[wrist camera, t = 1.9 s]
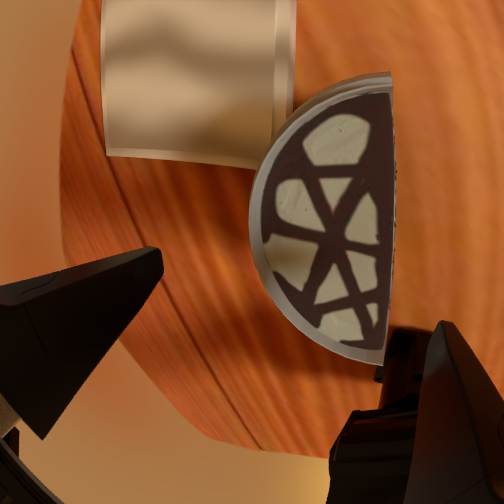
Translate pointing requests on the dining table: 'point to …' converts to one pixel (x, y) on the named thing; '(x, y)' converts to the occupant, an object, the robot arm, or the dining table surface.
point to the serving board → (196, 78)
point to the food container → (331, 217)
